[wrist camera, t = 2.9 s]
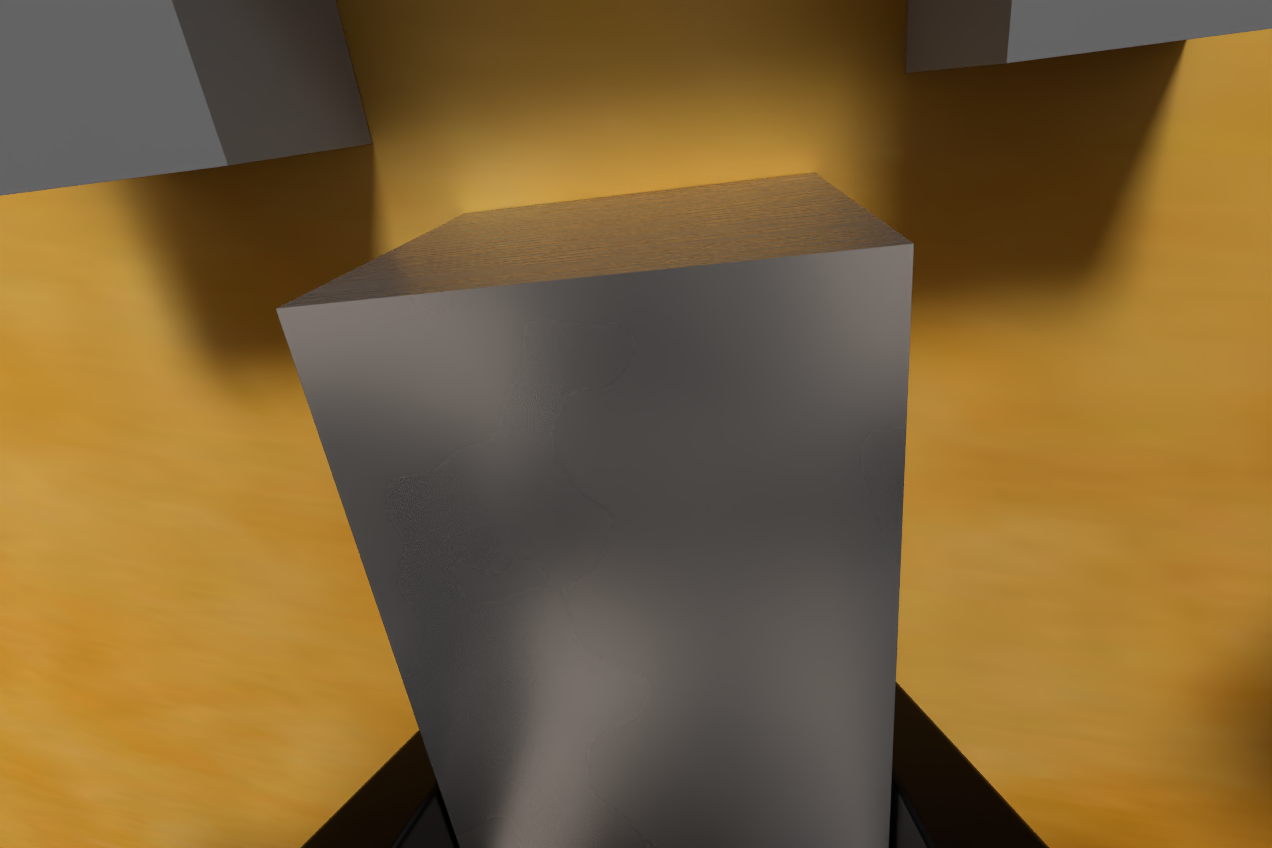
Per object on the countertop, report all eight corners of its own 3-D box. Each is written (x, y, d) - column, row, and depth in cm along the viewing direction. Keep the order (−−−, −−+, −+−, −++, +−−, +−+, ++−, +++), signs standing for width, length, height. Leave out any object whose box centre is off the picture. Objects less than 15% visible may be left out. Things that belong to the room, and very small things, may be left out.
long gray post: (825, 826, 14) (876, 1138, 10) (596, 825, 14) (552, 1119, 10) (815, 172, 9) (914, 243, 5) (464, 213, 9) (276, 308, 5)
